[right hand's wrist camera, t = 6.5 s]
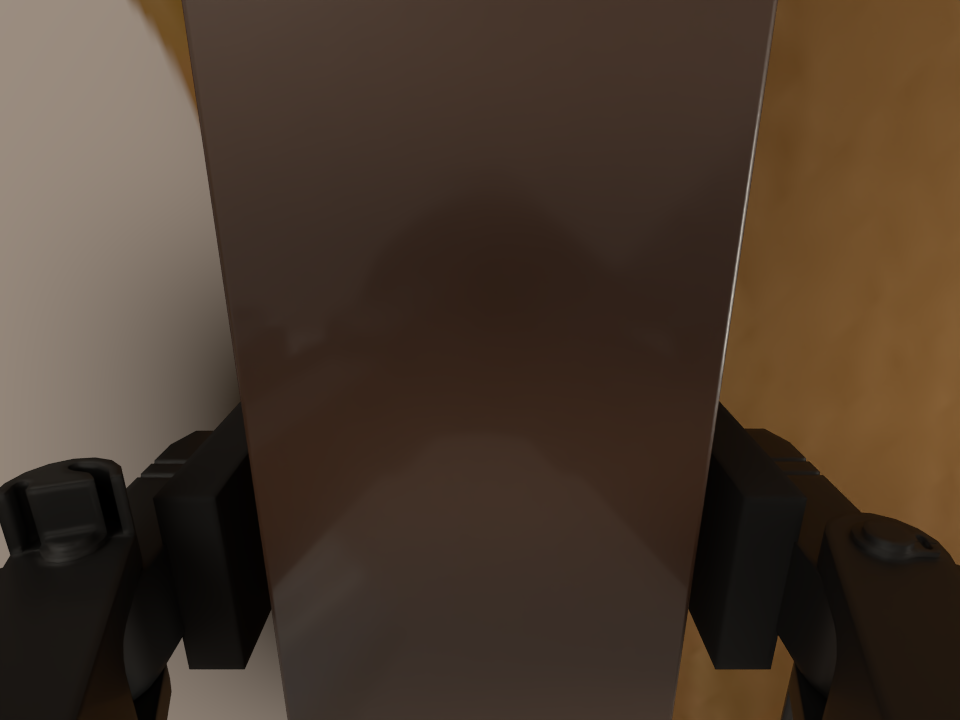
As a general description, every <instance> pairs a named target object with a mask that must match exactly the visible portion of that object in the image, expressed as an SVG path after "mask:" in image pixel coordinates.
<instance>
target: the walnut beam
mask: <svg viewBox="0 0 960 720" xmlns="http://www.w3.org/2000/svg"><path fill="white" fill-rule="evenodd" d="M777 3H778V0H182V6H183V13H184V19H185V26H186V33H187V40H188V47H189V53H190V60H191V67H192V74H193V80H194V87H195V94H196V101H197V108H198V114H199V121H200V128H201V135H202V142H203V148H204V155H205V162H206V169H207V175H208V182H209V189H210V196H211V203H212V209H213V216H214V223H215V229H216V236H217V243H218V250H219V257H220V264H221V270H222V277H223V284H224V291H225V297H226V304H227V311H228V317H229V325H230V331H231V338H232V345H233V351H234V358H235V365H236V372H237V379H238V385H239V392H240V399H241V406H242V413H243V419H244V426H245V433H246V440H247V447H248V453H249V460H250V467H251V474H252V480H253V487H254V494H255V501H256V508H257V514H258V521H259V528H260V535H261V541H262V548H263V555H264V562H265V569H266V575H267V582H268V589H269V596H270V602H271V609H272V616H273V623H274V629H275V636H276V643H277V650H278V657H279V663H280V670H281V677H282V684H283V691H284V697H285V704H286V711H287V718H288V720H672V716H673V709H674V702H675V695H676V688H677V682H678V675H679V668H680V661H681V654H682V648H683V641H684V634H685V627H686V621H687V614H688V607H689V600H690V593H691V587H692V580H693V573H694V566H695V559H696V553H697V546H698V539H699V532H700V526H701V519H702V512H703V505H704V498H705V492H706V485H707V478H708V471H709V464H710V458H711V451H712V444H713V437H714V430H715V424H716V417H717V410H718V403H719V397H720V390H721V383H722V376H723V369H724V363H725V356H726V349H727V342H728V335H729V329H730V322H731V315H732V308H733V302H734V295H735V288H736V281H737V274H738V268H739V261H740V254H741V247H742V240H743V234H744V227H745V220H746V213H747V206H748V200H749V193H750V186H751V179H752V173H753V166H754V159H755V152H756V145H757V139H758V132H759V125H760V118H761V111H762V105H763V98H764V91H765V84H766V78H767V71H768V64H769V57H770V50H771V44H772V37H773V30H774V23H775V16H776V10H777Z"/></svg>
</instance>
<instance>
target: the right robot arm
mask: <svg viewBox="0 0 960 720" xmlns="http://www.w3.org/2000/svg"><path fill="white" fill-rule="evenodd" d="M0 524H1V527H2V530H3V533H4V537H5V540H6V543H7V546H8V549H9V552H10V557H9V558H8V560H7V562H6V563H5V565H4V567H3V568H0V720H167V716H168V710H169V704H170V697H171V683H170V677H169V672H168V668H167V662H168V660H169V658H170V657H171V655H172V654H173V652H174V650H175V649H176V647H177V645H178V644H179V642H180V640H181V638H182V637H183V642H184V646H185V651H186V656H187V660H188V665H189V669H245V667H246V665H247V663H248V661H249V658H250V656H251V654H252V652H253V649H254V647H255V645H256V643H257V640H258V638H259V636H260V634H261V631H262V629H263V627H264V624H265V622H266V620H267V618H268V615H269V613H270V611H271V602H270V596H269V589H268V582H267V575H266V569H265V562H264V555H263V548H262V541H261V535H260V528H259V521H258V514H257V508H256V501H255V494H254V487H253V480H252V474H251V467H250V460H249V453H248V447H247V440H246V433H245V426H244V419H243V413H242V406H241V402H240V403H239V404H238V405H237V406H236V407H235V408H234V409H233V410H232V412H231V413H230V414H229V415H228V416H227V417H226V418H225V419H224V420H223V422H222V423H221V424H220V425H219V426H218V427H217V428H216V429H215V430H214V431H195V432H193V433H191V434H189V435H188V436H186V437H184V438H182V439H180V440H178V441H176V442H175V443H173V444H171V445H170V446H169V447H168V448H167V449H166V450H165V451H164V452H163V453H162V454H161V455H160V456H159V457H158V458H157V459H156V460H155V463H154V464H151V465H150V466H149V467H148V468H147V469H146V470H144V471H143V473H141V478H136V479H135V480H134V481H133V482H132V483H131V484H130V485H129V486H128V487H127V488H126V486H125V482H124V477H123V473H122V469H121V466H120V465H118V464H117V463H115V462H114V461H112V460H107V459H101V458H80V459H71V460H66V461H61V462H57V463H52V464H48V465H45V466H42V467H39V468H37V469H34V470H31V471H28V472H25V473H23V474H21V475H19V476H18V477H16V478H14V479H12V480H10V481H8V482H6V483H5V484H3V485H2V486H1V487H0ZM688 609H689V611H690V613H691V615H692V618H693V620H694V622H695V624H696V627H697V629H698V631H699V634H700V636H701V638H702V640H703V643H704V645H705V647H706V649H707V652H708V654H709V656H710V658H711V661H712V663H713V665H714V667H715V669H771V665H772V660H773V656H774V651H775V646H776V642H777V637H778V635H779V637H780V639H781V640H782V642H783V644H784V645H785V647H786V649H787V650H788V652H789V654H790V655H791V657H792V659H793V660H794V664H793V668H792V672H791V677H790V681H789V685H788V690H787V694H786V698H785V703H784V707H783V711H782V716H781V720H960V565H956V564H955V562H954V561H953V559H952V557H951V556H950V554H949V553H948V552H947V551H946V550H945V549H944V548H943V546H942V545H941V544H940V543H939V542H938V541H937V540H935V539H934V538H932V537H930V536H929V535H927V534H926V533H924V532H923V531H921V530H919V529H918V528H915V527H913V526H910V525H908V524H906V523H903V522H901V521H899V520H896V519H893V518H889V517H885V516H881V515H876V514H872V513H861V512H860V511H859V510H858V509H857V508H856V507H855V506H854V505H853V504H852V503H851V502H850V501H849V500H848V499H847V498H846V497H845V496H844V495H843V494H842V493H841V492H840V491H839V490H838V489H837V488H836V487H835V486H834V485H833V484H832V483H831V482H830V481H829V480H828V479H827V478H826V477H825V476H823V475H820V472H819V471H818V470H817V469H816V468H815V467H814V466H813V465H812V464H811V463H810V462H806V458H805V457H804V456H803V455H802V454H801V453H800V452H799V451H798V450H797V449H796V448H795V447H794V446H793V445H792V444H791V443H790V442H788V441H786V440H784V439H782V438H781V437H779V436H777V435H775V434H773V433H771V432H769V431H767V430H766V429H744V428H743V427H742V426H741V425H740V424H739V423H738V421H737V420H736V419H735V418H734V417H733V416H732V415H731V414H730V413H729V412H728V410H727V409H726V408H725V407H724V406H723V405H722V404H721V403H720V402H719V403H718V410H717V417H716V424H715V430H714V437H713V444H712V451H711V458H710V464H709V471H708V478H707V485H706V492H705V498H704V505H703V512H702V519H701V526H700V532H699V539H698V546H697V553H696V559H695V566H694V573H693V580H692V587H691V593H690V600H689V607H688Z"/></svg>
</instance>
